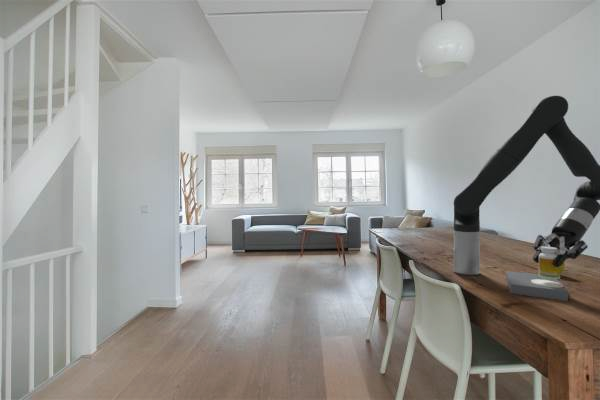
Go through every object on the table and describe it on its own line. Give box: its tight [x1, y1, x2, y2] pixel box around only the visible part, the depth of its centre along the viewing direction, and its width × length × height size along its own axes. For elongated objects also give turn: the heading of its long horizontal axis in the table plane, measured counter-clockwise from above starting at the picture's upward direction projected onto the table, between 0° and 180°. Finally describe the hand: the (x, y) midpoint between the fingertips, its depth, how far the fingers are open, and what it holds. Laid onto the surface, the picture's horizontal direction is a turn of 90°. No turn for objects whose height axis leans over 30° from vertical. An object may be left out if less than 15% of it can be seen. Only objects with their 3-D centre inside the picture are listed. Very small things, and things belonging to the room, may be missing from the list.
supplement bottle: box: [538, 246, 561, 280], centre depth 94 cm, size 5×5×10 cm
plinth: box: [505, 270, 569, 302], centre depth 98 cm, size 14×18×3 cm
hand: (545, 263), depth 93 cm, fingers closed on supplement bottle, 5 cm apart
